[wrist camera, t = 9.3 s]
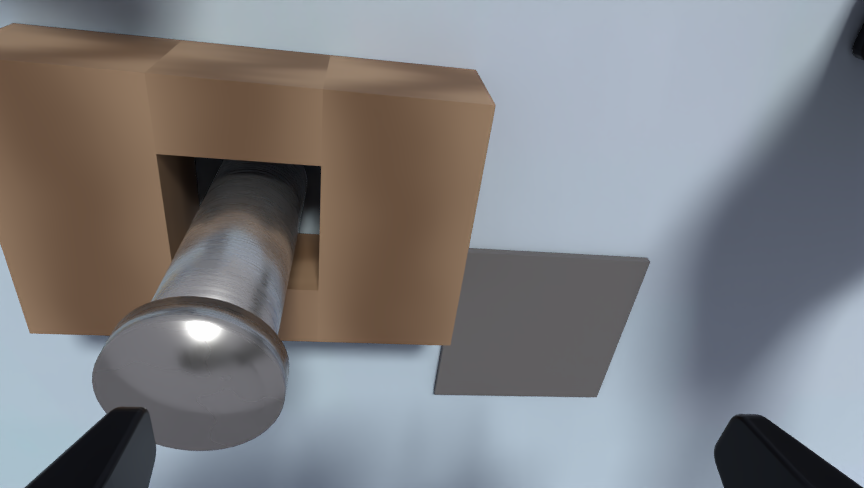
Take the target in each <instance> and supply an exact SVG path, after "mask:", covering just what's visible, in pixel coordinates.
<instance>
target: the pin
mask: <svg viewBox="0 0 864 488" xmlns="http://www.w3.org/2000/svg"><path fill="white" fill-rule="evenodd" d="M306 190H307V175H306V171H305V168H304V166H303V165H299V164H285V163H272V162H258V161H244V160H230V159H224V160H223V162H222V164H221V166H220V168H219V170H218V172H217V174H216V176H215V178H214V180H213V182H212V184H211V186H210V188H209V190H208V192H207V194H206V196H205V198H204V199H203V201H202V203H201V205H200V207H199V209H198V211H197V213H196V215H195V217H194V219H193V221H192V223H191V225H190V227H189V229H188V231H187V233H186V235H185V237H184V238H183V240H182V242H181V244H180V246H179V248H178V250H177V252H176V254H175V256H174V258H173V260H172V262H171V264H170V266H169V268H168V270H167V272H166V274H165V276H164V278H163V279H162V281H161V283H160V285H159V287H158V289H157V291H156V293H155V295H154V297H153V299H152V301H151V302H149V303H146V304H144V305H142V306H140V307H138V308H136V309H134V310H133V311H131V312H130V313H128V314H127V315H126V316H125V317H124V318H123V319H122V320H121V321H119V323H118V324H117V325H116V327H115V328H114V330H113V331H112V333H111V335H110V337H109V339H108V340H107V342H106V344H105V346H104V347H103V349H102V351H101V353H100V354H99V356H98V358H97V360H96V363H95V365H94V369H93V374H92V383H93V389H94V392H95V395H96V398H97V400H98V402H99V403H100V405H101V407H102V408H103V410H104V411H105V412H106V413H108V412H110V411H111V410H112V409H114V408H117V407H145V408H146V409H147V410H148V411H149V414H150V418H151V423H152V428H153V433H154V438H155V443H156V444H158V445H161V446H165V447H169V448H174V449H181V450H191V451H209V450H219V449H225V448H229V447H234V446H237V445H240V444H243V443H245V442H248V441H250V440H252V439H254V438H256V437H257V436H259V435H261V434H262V433H263V432H265V431H266V430H267V429H268V428H269V427H270V426H271V425H272V424H273V423H274V422H275V421H276V419H277V418H278V416H279V414H280V412H281V410H282V408H283V404H284V400H285V394H286V387H287V381H288V375H289V359H288V355H287V352H286V349H285V347H284V345H283V343H282V341H281V339H280V338H279V337H278V332H279V327H280V322H281V317H282V312H283V307H284V302H285V297H286V291H287V286H288V281H289V276H290V271H291V266H292V261H293V256H294V251H295V246H296V241H297V236H298V231H299V225H300V220H301V215H302V210H303V205H304V200H305V195H306Z"/></svg>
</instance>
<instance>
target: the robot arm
mask: <svg viewBox="0 0 864 488" xmlns="http://www.w3.org/2000/svg"><path fill="white" fill-rule="evenodd" d="M852 50H853V54H854V56H855V57H857V58H859V59H862V60H864V24H863V26H862V28H861V30H860V32H859V34H858V36H857V38H856V40H855V42H854V45H853V48H852ZM155 456H156V443H155V438H154V433H153V428H152V423H151V418H150V414H149V411H148V410H147V409H146V408H145V407H117V408H114V409H112V410H111V411H110V412H108V413H107V414H106V415H105V416H104V417H103V418H102V419H101V420H100V421H98V422H97V423H96V424H95V425H94V426H93V427H92V428H91V429H89V430H88V431H87V432H86V433H85V434H84V435H83V436H82V437H81V438H79V439H78V440H77V441H76V442H75V443H74V444H73V445H72V446H71V447H69V448H68V449H67V450H66V451H65V452H64V453H63V454H62V455H60V456H59V457H58V458H57V459H56V460H55V461H54V462H53V463H52V464H50V465H49V466H48V467H47V468H46V469H45V470H44V471H43V472H41V473H40V474H39V475H38V476H37V477H36V478H35V479H34V480H33V481H31V482H30V483H29V484H28V485H27V486H26V487H25V488H148V487H149V482H150V478H151V474H152V470H153V466H154V462H155ZM714 458H715V463H716V466H717V469H718V471H719V474H720V477H721V480H722V483H723V486H724V488H863V487H861V486H860V485H859V484H857V483H856V482H854V481H853V480H852V479H850V478H849V477H847V476H846V475H845V474H843V473H842V472H841V471H839V470H838V469H836V468H835V467H834V466H832V465H831V464H829V463H828V462H827V461H825V460H824V459H822V458H821V457H820V456H818V455H817V454H816V453H814V452H813V451H811V450H810V449H809V448H807V447H806V446H804V445H803V444H802V443H800V442H799V441H797V440H796V439H795V438H793V437H792V436H791V435H789V434H788V433H786V432H785V431H784V430H782V429H781V428H779V427H778V426H777V425H775V424H774V423H772V422H771V421H770V420H768V419H767V418H765V417H763V416H761V415H756V414H738V415H735V416H734V417H732V419H731V420H730V421H729V423H728V425H727V427H726V428H725V430H724V432H723V433H722V435H721V437H720V438H719V440H718V442H717V443H716V446H715V449H714Z"/></svg>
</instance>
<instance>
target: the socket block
mask: <svg viewBox="0 0 864 488" xmlns="http://www.w3.org/2000/svg"><path fill="white" fill-rule="evenodd" d="M494 111H495V103H494V102H493V100H492V98H491V96H490V94H489V93H488V91H487V89H486V87H485V85H484V84H483V82H482V80H481V78H480V76H479V75H478V73H477V71H476V70H472V69H462V68H452V67H442V66H432V65H422V64H412V63H402V62H392V61H383V60H373V59H363V58H353V57H343V56H333V55H323V54H313V53H303V52H293V51H283V50H274V49H264V48H254V47H244V46H234V45H224V44H214V43H204V42H194V41H184V40H175V39H165V38H155V37H145V36H135V35H125V34H115V33H105V32H95V31H85V30H75V29H66V28H56V27H46V26H36V25H26V24H16V23H12V24H10V25H7V26H5V27H3V28H0V244H1V247H2V250H3V253H4V256H5V259H6V262H7V265H8V268H9V271H10V274H11V277H12V280H13V283H14V286H15V289H16V292H17V295H18V298H19V301H20V304H21V307H22V310H23V313H24V316H25V319H26V323H27V326H28V329H29V332H30V333H36V334H71V335H105V336H110V335H111V333H112V331H113V330H114V328H115V327H116V325H117V324H118V323H119V321H121V320H122V319H123V318H124V317H125V316H126V315H127V314H128V313H130V312H131V311H133V310H134V309H136V308H138V307H140V306H142V305H144V304H146V303H149V302H151V301H152V299H153V297H154V295H155V293H156V291H157V289H158V287H159V285H160V283H161V281H162V279H163V278H164V276H165V274H166V272H167V270H168V268H169V266H170V264H171V262H172V260H173V258H174V256H175V254H176V252H177V250H178V248H179V246H180V244H181V242H182V240H183V238H184V237H185V235H186V233H187V231H188V229H189V227H190V225H191V223H192V221H193V219H194V217H195V215H196V213H197V211H198V209H199V207H200V205H199V195H198V186H197V176H196V167H195V157H203V158H217V159H230V160H244V161H258V162H272V163H285V164H299V165H313V166H321V199H320V235H319V234H301V233H298V236H297V241H296V246H295V251H294V256H293V261H292V266H291V271H290V276H289V281H288V286H287V291H286V297H285V302H284V307H283V312H282V317H281V322H280V327H279V332H278V337H279V338H280V339H281V341H312V342H346V343H380V344H415V345H449V346H450V345H451V339H452V334H453V329H454V324H455V318H456V313H457V308H458V302H459V297H460V292H461V286H462V281H463V276H464V270H465V265H466V260H467V254H468V249H469V244H470V238H471V233H472V228H473V222H474V217H475V212H476V207H477V201H478V196H479V191H480V185H481V180H482V175H483V169H484V164H485V159H486V153H487V148H488V143H489V137H490V132H491V127H492V121H493V116H494Z"/></svg>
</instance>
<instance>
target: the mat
mask: <svg viewBox="0 0 864 488" xmlns="http://www.w3.org/2000/svg"><path fill="white" fill-rule="evenodd" d="M649 264H650V261H649V260H648V258H639V257H621V256H602V255H584V254H566V253H547V252H529V251H511V250H492V249H474V248H469V249H468V254H467V260H466V265H465V270H464V276H463V281H462V286H461V292H460V297H459V302H458V308H457V313H456V318H455V324H454V329H453V334H452V339H451V345H450V346H449V345H442V348H441V353H440V359H439V365H438V370H437V376H436V382H435V387H434V393H435V395H495V396H557V397H597V395H598V392H599V390H600V387H601V385H602V382H603V380H604V377H605V375H606V372H607V370H608V367H609V365H610V362H611V360H612V357H613V355H614V352H615V349H616V347H617V344H618V342H619V339H620V337H621V334H622V332H623V329H624V327H625V324H626V322H627V319H628V317H629V314H630V312H631V309H632V307H633V304H634V301H635V299H636V296H637V294H638V291H639V289H640V286H641V284H642V281H643V279H644V276H645V274H646V271H647V269H648V266H649Z"/></svg>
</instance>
